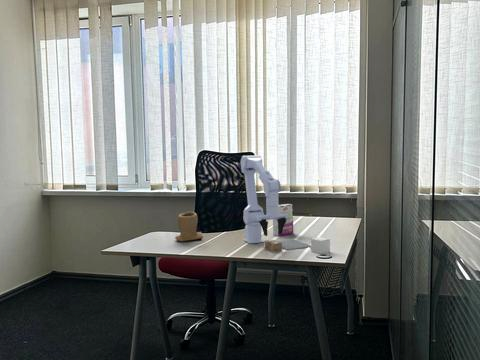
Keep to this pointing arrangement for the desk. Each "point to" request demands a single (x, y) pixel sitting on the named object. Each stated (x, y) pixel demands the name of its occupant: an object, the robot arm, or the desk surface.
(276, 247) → the brown box with strip
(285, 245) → the rubber mat
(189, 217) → the stone cup
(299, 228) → the desk surface
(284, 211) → the candy bar box
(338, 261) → the desk surface
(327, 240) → the white cube
